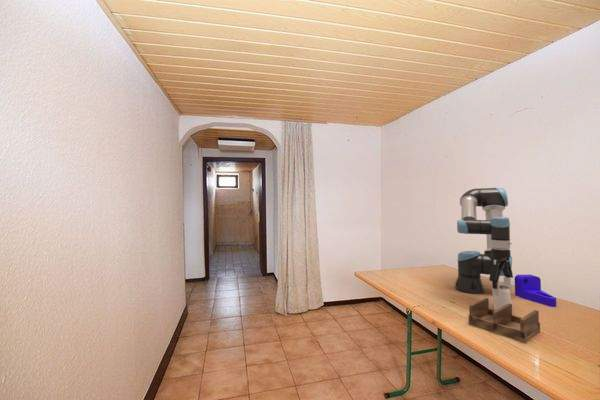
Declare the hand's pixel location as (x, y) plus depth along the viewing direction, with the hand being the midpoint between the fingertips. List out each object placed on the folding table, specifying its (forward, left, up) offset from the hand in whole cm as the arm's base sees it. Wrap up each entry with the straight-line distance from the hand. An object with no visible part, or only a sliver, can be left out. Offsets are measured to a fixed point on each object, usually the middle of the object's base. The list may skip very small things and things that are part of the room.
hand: (501, 293), depth 130 cm
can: (0, 0, -9) cm, 9 cm away
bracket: (+5, +33, -10) cm, 35 cm away
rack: (+7, -19, -9) cm, 22 cm away
